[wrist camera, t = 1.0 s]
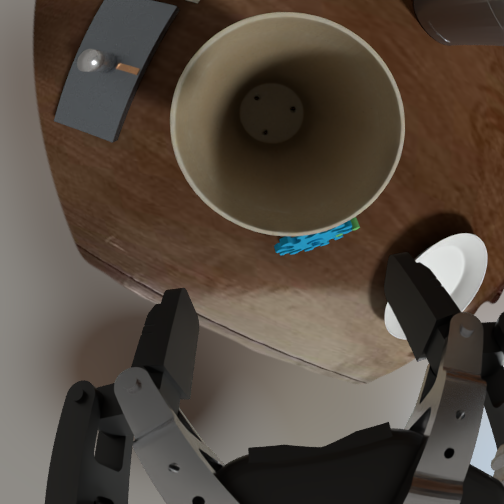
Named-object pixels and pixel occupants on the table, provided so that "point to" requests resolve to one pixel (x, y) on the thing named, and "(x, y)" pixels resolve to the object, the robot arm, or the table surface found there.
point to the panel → (112, 65)
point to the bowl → (450, 272)
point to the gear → (314, 238)
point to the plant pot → (287, 124)
